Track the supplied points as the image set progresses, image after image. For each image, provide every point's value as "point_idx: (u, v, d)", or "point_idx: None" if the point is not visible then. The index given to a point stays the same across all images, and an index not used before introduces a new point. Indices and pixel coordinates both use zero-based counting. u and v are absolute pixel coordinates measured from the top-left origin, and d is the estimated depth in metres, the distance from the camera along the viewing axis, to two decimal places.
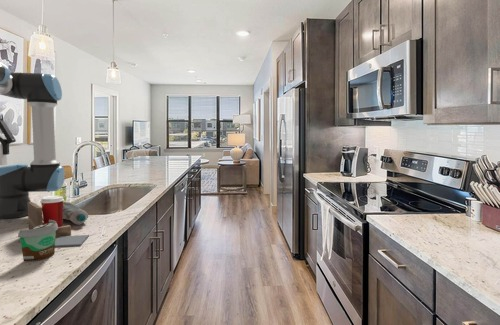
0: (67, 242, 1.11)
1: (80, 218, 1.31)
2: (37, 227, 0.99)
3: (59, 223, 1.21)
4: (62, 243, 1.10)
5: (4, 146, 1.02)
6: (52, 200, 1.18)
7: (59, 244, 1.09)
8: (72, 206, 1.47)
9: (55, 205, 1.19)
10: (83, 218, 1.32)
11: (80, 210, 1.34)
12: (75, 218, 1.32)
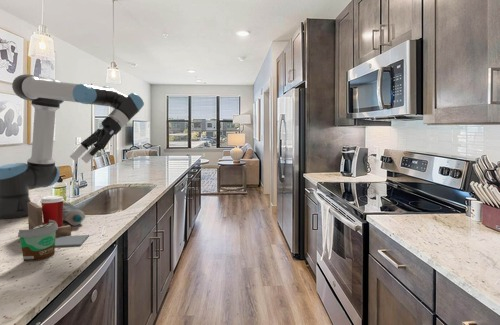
0: (67, 242, 1.11)
1: (76, 219, 1.30)
2: (37, 227, 0.99)
3: (59, 223, 1.21)
4: (62, 243, 1.10)
5: None
6: (52, 200, 1.18)
7: (59, 244, 1.09)
8: (70, 206, 1.47)
9: (55, 205, 1.19)
10: (79, 219, 1.30)
11: (76, 211, 1.33)
12: (71, 219, 1.31)
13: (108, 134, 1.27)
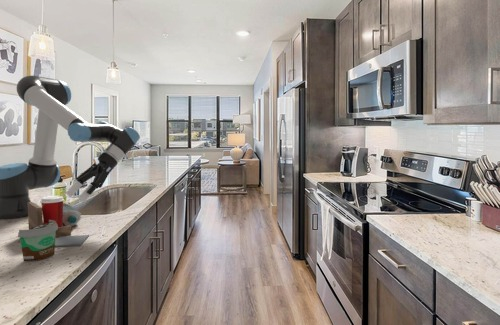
0: (67, 242, 1.11)
1: (71, 220, 1.28)
2: (37, 227, 0.99)
3: (59, 223, 1.21)
4: (62, 243, 1.10)
5: None
6: (52, 200, 1.18)
7: (59, 244, 1.09)
8: (68, 207, 1.46)
9: (55, 205, 1.19)
10: (74, 220, 1.29)
11: (72, 211, 1.32)
12: (66, 220, 1.30)
13: (105, 171, 1.27)
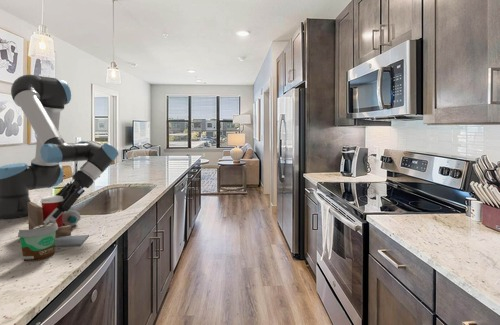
0: (67, 242, 1.11)
1: (71, 220, 1.28)
2: (37, 227, 0.99)
3: (59, 223, 1.21)
4: (62, 243, 1.10)
5: None
6: (52, 200, 1.18)
7: (59, 244, 1.09)
8: None
9: (55, 205, 1.19)
10: (74, 220, 1.29)
11: (72, 211, 1.32)
12: (66, 220, 1.30)
13: (76, 194, 1.21)
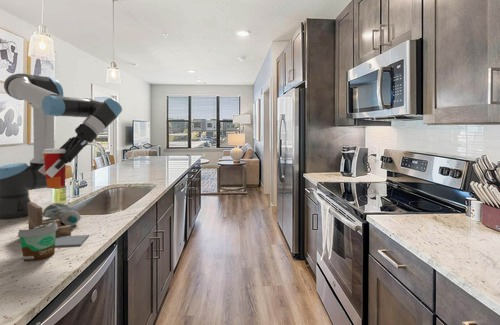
0: (67, 242, 1.11)
1: (71, 220, 1.28)
2: (37, 227, 0.99)
3: (62, 175, 1.17)
4: (62, 243, 1.10)
5: None
6: (54, 151, 1.15)
7: (59, 244, 1.09)
8: (65, 207, 1.45)
9: (58, 156, 1.15)
10: (74, 220, 1.29)
11: (72, 211, 1.32)
12: (66, 220, 1.30)
13: (79, 145, 1.17)
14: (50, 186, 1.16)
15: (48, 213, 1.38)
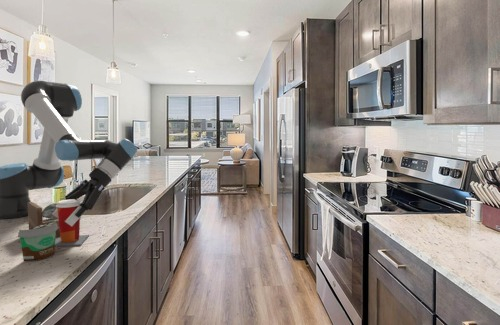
0: None
1: None
2: (37, 227, 0.99)
3: (76, 229, 1.12)
4: (62, 243, 1.10)
5: None
6: (69, 204, 1.09)
7: (59, 244, 1.09)
8: None
9: (72, 209, 1.10)
10: None
11: None
12: None
13: (97, 191, 1.12)
14: (64, 241, 1.11)
15: (47, 213, 1.37)
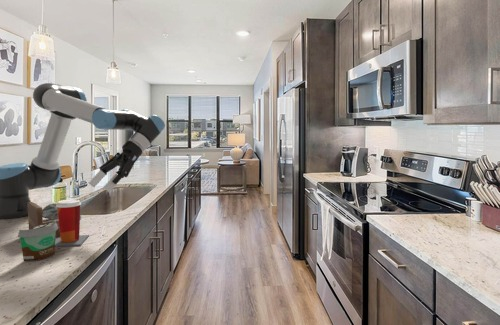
0: None
1: None
2: (37, 227, 0.99)
3: (76, 229, 1.12)
4: (62, 243, 1.10)
5: None
6: (69, 204, 1.09)
7: (59, 244, 1.09)
8: None
9: (72, 209, 1.10)
10: None
11: None
12: None
13: (131, 160, 1.21)
14: (64, 241, 1.11)
15: (46, 214, 1.37)
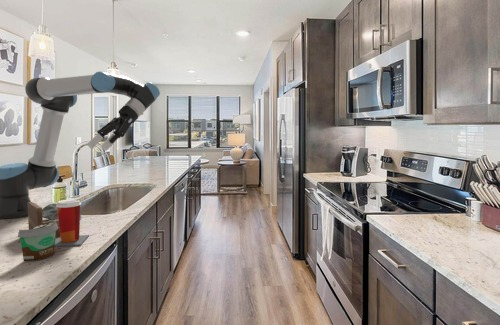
0: None
1: None
2: (37, 227, 0.99)
3: (76, 229, 1.12)
4: (62, 243, 1.10)
5: None
6: (69, 204, 1.09)
7: (59, 244, 1.09)
8: None
9: (72, 209, 1.10)
10: None
11: None
12: None
13: (127, 122, 1.27)
14: (64, 241, 1.11)
15: (46, 214, 1.37)
